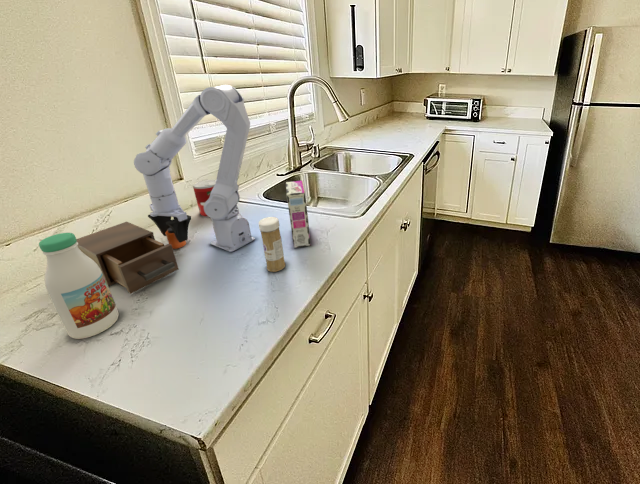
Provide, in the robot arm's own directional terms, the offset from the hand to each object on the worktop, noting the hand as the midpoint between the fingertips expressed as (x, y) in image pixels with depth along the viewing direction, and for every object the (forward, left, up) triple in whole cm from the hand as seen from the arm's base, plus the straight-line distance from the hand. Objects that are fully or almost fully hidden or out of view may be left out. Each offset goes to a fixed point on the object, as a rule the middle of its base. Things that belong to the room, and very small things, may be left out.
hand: (175, 237), depth 93 cm
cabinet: (+2, +12, -3) cm, 13 cm away
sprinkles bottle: (-34, -6, -3) cm, 35 cm away
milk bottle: (-17, +25, -3) cm, 31 cm away
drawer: (-10, +13, -2) cm, 16 cm away
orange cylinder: (0, 0, -3) cm, 3 cm away
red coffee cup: (+12, -19, -3) cm, 22 cm away
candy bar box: (-29, -20, -3) cm, 35 cm away
